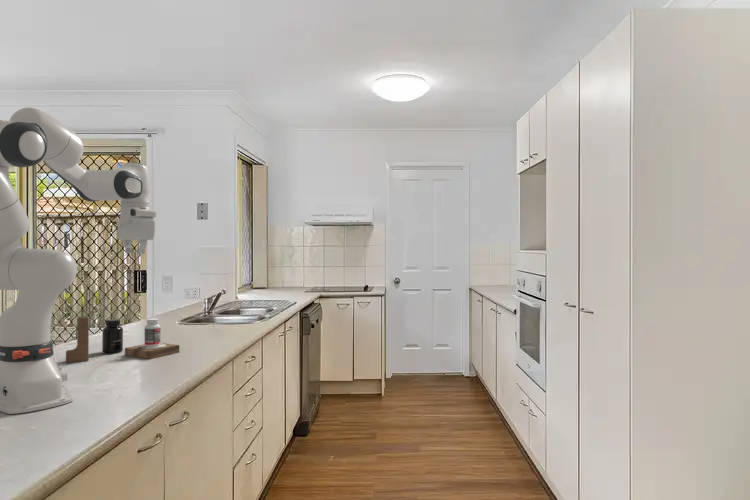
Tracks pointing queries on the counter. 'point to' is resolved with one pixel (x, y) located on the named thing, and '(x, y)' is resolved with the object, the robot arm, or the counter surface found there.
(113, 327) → the supplement bottle
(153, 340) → the pill bottle
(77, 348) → the wooden block
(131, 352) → the walnut base
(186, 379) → the counter surface
